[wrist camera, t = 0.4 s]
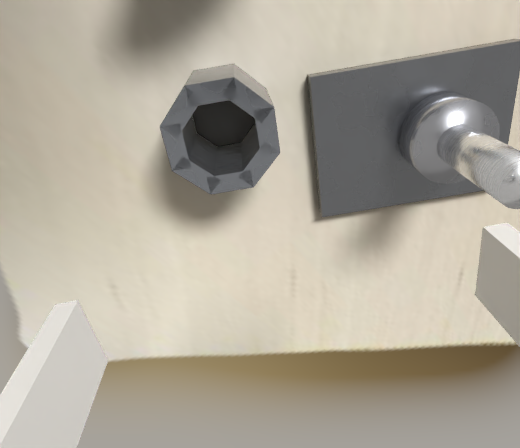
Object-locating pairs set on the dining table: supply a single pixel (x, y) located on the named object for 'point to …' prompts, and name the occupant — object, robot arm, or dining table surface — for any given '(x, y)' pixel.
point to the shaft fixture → (417, 129)
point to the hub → (229, 156)
